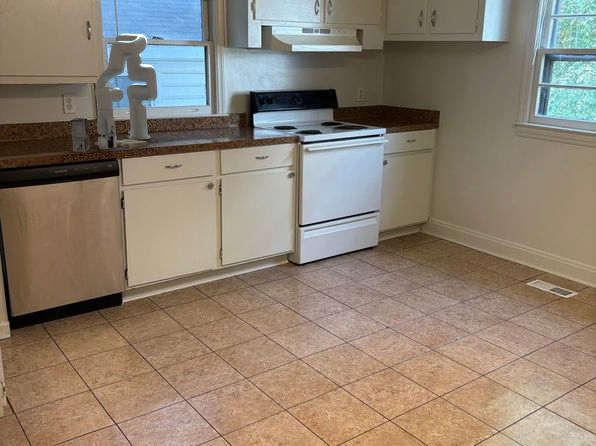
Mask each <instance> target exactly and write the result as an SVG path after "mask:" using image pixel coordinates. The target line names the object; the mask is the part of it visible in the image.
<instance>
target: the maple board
mask: <svg viewBox="0 0 596 446" xmlns="http://www.w3.org/2000/svg"><path fill="white" fill-rule="evenodd" d="M146 145H149V143H148V141H144V140H136V139H129V138H126V139H117V147H122V148H128V149H131V148H138V147H147V146H146Z"/></svg>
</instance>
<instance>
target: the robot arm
mask: <svg viewBox="0 0 596 446" xmlns="http://www.w3.org/2000/svg"><path fill="white" fill-rule="evenodd" d="M147 46H148V39H147V38H146V36H145V35H144V34H141V33H137V34H135V33H122V34H121V33H119V34H117V35H116V36H115V41H114V42H113V43H112V44H111V46H110V50H109V51H110V52H109V58H108V64H107V68H106V69H105V70H103V72H101V74H100V75H99V77H98V78H97V80H96V85H95V90H94V93H95V98H96V101H97V119H96V120H97V121H96V125H97V129H96V130H97V131H96V132H97V133H98V135H99V137H103V136H108V148H110V149H114V148H113V147H114V142H113V140H114V138H115V136H117V133H116V122H115V117H114V106H113V105H114V104H113V103H115V102H116V103H118V102H119V103H120V102H121V101H122V100H123V99H124V93H123V90H122V89H121V88H119V87H114V86H113V87H111V86H110V87H109V86H106V85H107V83H108V82H109V81H110V80H112V79H113V78H116V77H118V76H120V75H122V74H123V73H124V71H125V68H126V71H127V77H128V80H130V81H131V82H141V83H131V84H129V85H128V86H127V88H126V94H127V101H128V106H129V108H128V109H129V124H130V130H129V131H127V133H128V134H129V135H128V136H127V137H128V138H127V139H133V140H139V141H141V140H149V139H151V135H148V134H149V133H148V117H147V116H148V115H147V106H146V105H145V102H153V101H156V100H157V98H158V82H157V73H156V72H157V71H156V70H155V67H154V66H153V65H151V64H143V63H142V55H141V54H142V53H143V52H144V51H145V50H146V48H147ZM125 66H126V67H125ZM142 82H143V83H142ZM144 82H145V83H144ZM110 136H111V137H110Z"/></svg>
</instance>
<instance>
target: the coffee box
mask: <svg viewBox="0 0 596 446" xmlns="http://www.w3.org/2000/svg"><path fill="white" fill-rule="evenodd" d="M70 127H71V139H72V151H73V152H75V153H77V152H78V153H82V152H83V153H85V152H87V151H88V150H90V149H91V148H90V147H91V146H90V145H91V144H90V135H89V134H90V133H89V123H88V118H84V117H83V118H82V117H76V118H73V119H71V120H70Z"/></svg>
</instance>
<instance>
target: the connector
mask: <svg viewBox="0 0 596 446" xmlns="http://www.w3.org/2000/svg"><path fill="white" fill-rule="evenodd" d="M110 137H111V136H110ZM117 138H118V137H117V135H116V136H115V138H114V140H113V142H114V147H113V148H112V149H116V148H118V146H117V140H118V139H117ZM94 145H95V146H98V149H99V150H108V149H109V150H110V149H111V148H108V135H107V136H105V135H104V136H103V137H101V136H98V137H97V141H96V142H94Z"/></svg>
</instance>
